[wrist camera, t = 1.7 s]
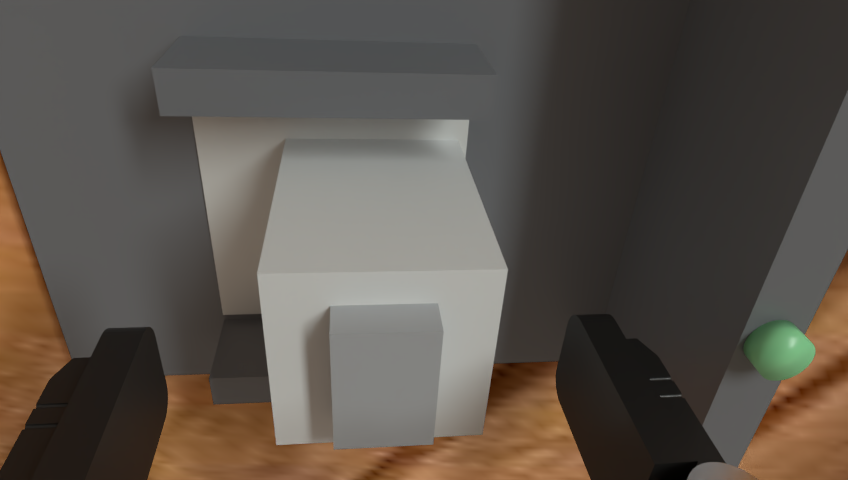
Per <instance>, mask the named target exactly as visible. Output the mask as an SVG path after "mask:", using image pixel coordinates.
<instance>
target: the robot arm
mask: <svg viewBox="0 0 848 480" xmlns="http://www.w3.org/2000/svg"><path fill="white" fill-rule="evenodd" d="M556 389H557V395H558V398H559V402H560V404H561V407H562V409H563V412H564V414H565V417H566V419H567V422H568V424H569V427H570V429H571V432H572V434H573V436H574V439H575V441H576V444H577V446H578V449H579V451H580V454H581V456H582V459H583V461H584V464H585V466H586V469H587V471H588V474H589V476H590V479H591V480H758V479H757V478H755V477H754V476H753V475H751V474H749V473H748V472H746V471H744V470H742V469H740V468H738V467H735V466H733V465H730V464H726V462H725V461H724V459H723V458H722V456H721V455H720V453H719V451H718V450H717V448H716V447H715V445H714V444H713V442H712V440H711V439H710V437H709V436H708V434H707V432H706V431H705V429H704V428H703V426H702V425H701V423H700V421H699V420H698V418H697V417H696V415H695V414H694V412H693V410H692V409H691V407H690V406H689V404H688V403H687V401H686V399H685V398H682V393H681V391H680V390H679V388H678V387H677V385H676V384H675V382H674V381H672V380H671V376H670V374H669V373H668V371H667V369H666V368H665V366H664V365H663V363H662V361H661V360H660V358H659V357H658V356H657V355H656V354H655V353H654V352H653V351H651V350H650V349H649V348H648V347H647V346H645V345H644V344H643V343H642V342H641V341H639V340H638V339H637V338H633V339H626V338H625V336H624V334H623V332H622V331H621V329H620V327H619V326H618V324H617V322H616V321H615V319H614V318H613V316H612V315H610V314H586V315H572V316H571V317H570V319H569V321H568V324H567V328H566V332H565V337H564V341H563V345H562V349H561V353H560V357H559V362H558V366H557V370H556ZM167 405H168V391H167V384H166V380H165V375H164V371H163V367H162V362H161V358H160V354H159V349H158V345H157V341H156V336H155V333H154V330H153V329H152V328H151V327H128V328H107V329H105V330H104V332H103V333H102V335H101V337H100V339H99V341H98V343H97V345H96V347H95V349H94V351H93V353H92V355H91V357H83V358H73V359H72V360H71V361H70V362H68V363H67V364H66V365H65V366H64V367H63V368H62V369H61V370H60V371H58V372H57V373H56V374H55V375H54V376H53V377H52V378H51V379H50V380H49V382H48V383H47V385H46V387H45V389H44V391H43V393H42V394H41V396H40V398H39V400H38V402H37V404H36V409H33V411H32V413H31V415H30V417H29V418H28V420H27V422H26V424H25V430H22V431H21V433H20V435H19V437H18V439H17V441H16V442H15V444H14V446H13V448H12V450H11V452H10V453H9V455H8V457H7V459H6V461H5V463H4V464H3V466H2V468H1V470H0V480H147V478H148V475H149V472H150V468H151V465H152V462H153V458H154V455H155V452H156V448H157V445H158V442H159V438H160V435H161V432H162V429H163V425H164V422H165V418H166V413H167Z"/></svg>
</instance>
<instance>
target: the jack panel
mask: <svg viewBox="0 0 848 480" xmlns="http://www.w3.org/2000/svg"><path fill="white" fill-rule="evenodd" d="M286 139H407V140H458V141H459V144H460V146H461V149H462V151H463V154H464V157H465V159H466V162H467V164H468V167H469V170H470V172H471V175H472V177H473V180H474V183H475V185H476V188H477V190H478V193H479V195H480V198H481V201H482V203H483V206H484V208H485V211H486V214H487V216H488V219H489V221H490V224H491V227H492V229H493V232H494V234H495V237H496V240H497V242H498V245H499V247H500V250H501V253H502V255H503V258H504V260H505V263H506V265H507V268H508V272H507V279H506V285H505V292H504V298H503V305H502V311H501V318H500V324H499V331H498V337H497V344H496V350H495V357H494V363H493V364H495V363H522V362H550V361H559V357H560V353H561V349H562V345H563V341H564V337H565V332H566V328H567V324H568V321H569V319H570V317H571V316H572V315H586V314H610V315H612V316H613V318H614V319H615V321H616V322H617V324H618V326H619V327H620V329H621V331H622V332H623V334H624V336H625V338H626V339H633V338H637V339H638V340H639V341H641V342H642V343H643V344H644V345H645V346H647V347H648V348H649V349H650V350H651V351H653V352H654V353H655V354H656V355H657V356H658V357H659V358H660V360H661V361H662V363H663V365H664V366H665V368H666V369H667V371H668V373H669V374H670V376H671V380H672V381H674V382H675V384H676V385H677V387H678V388H679V390H680V391H681V393H682V398H685V399H686V401H687V403H688V404H689V406H690V407H691V409H692V410H693V412H694V414H695V415H696V417H697V418H698V420H699V421H700V423H701V425H702V426H703V428H704V429H705V431H706V432H707V434H708V436H709V437H710V439H711V440H712V442H713V444H714V445H715V447H716V448H717V450H718V451H719V453H720V455H721V456H722V458H723V459H724V461H725V462H726V464H730V465H733V466H735V467H738V465H739V463H740V461H741V459H742V457H743V455H744V453H745V451H746V449H747V447H748V445H749V444H750V442H751V440H752V438H753V436H754V434H755V432H756V430H757V428H758V426H759V424H760V422H761V420H762V418H763V416H764V414H765V412H766V410H767V408H768V406H769V404H770V402H771V400H772V398H773V396H774V394H775V392H776V390H777V388H778V386H779V384H780V382H781V380H785V379H788V378H791V377H793V376H795V375H797V374H799V373H800V372H802V371H803V370H804V369H805V368H807V367H808V365H809V364H810V363H811V362H812V360H813V358H814V356H815V347H814V345H813V344H812V343H811V341H810V340H809V339H808V338H807V337H806V336H805V333H806V331H807V329H808V327H809V325H810V323H811V321H812V319H813V317H814V315H815V313H816V311H817V309H818V307H819V305H820V303H821V301H822V299H823V297H824V295H825V293H826V291H827V289H828V287H829V285H830V283H831V281H832V279H833V277H834V275H835V273H836V271H837V269H838V267H839V265H840V263H841V262H842V260H843V258H844V256H845V254H846V252H847V250H848V0H0V151H1V154H2V157H3V160H4V163H5V166H6V169H7V172H8V174H9V177H10V180H11V183H12V186H13V189H14V192H15V195H16V198H17V201H18V204H19V207H20V209H21V212H22V215H23V218H24V221H25V224H26V227H27V230H28V233H29V236H30V239H31V242H32V244H33V247H34V250H35V253H36V256H37V259H38V262H39V265H40V268H41V271H42V274H43V277H44V279H45V282H46V285H47V288H48V291H49V294H50V297H51V300H52V303H53V306H54V309H55V312H56V314H57V317H58V320H59V323H60V326H61V329H62V332H63V335H64V338H65V341H66V344H67V347H68V349H69V352H70V355H71V358H72V359H73V358H83V357H91V355H92V353H93V351H94V349H95V347H96V345H97V343H98V341H99V339H100V337H101V335H102V333H103V332H104V330H105V329H107V328H128V327H151V328H152V329H153V330H154V333H155V336H156V341H157V345H158V349H159V354H160V358H161V362H162V367H163V371H164V375H192V374H210V376H209V382H210V387H211V393H212V398H213V403H214V404H235V403H259V402H271V393H270V384H269V375H268V367H267V358H266V349H265V340H264V331H263V323H262V314H261V305H260V296H259V287H258V278H257V271H258V267H259V262H260V257H261V253H262V248H263V243H264V239H265V234H266V229H267V224H268V220H269V215H270V210H271V206H272V201H273V196H274V192H275V187H276V182H277V178H278V173H279V168H280V163H281V159H282V154H283V149H284V145H285V140H286Z"/></svg>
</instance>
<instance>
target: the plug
mask: <svg viewBox="0 0 848 480" xmlns="http://www.w3.org/2000/svg"><path fill="white" fill-rule="evenodd" d="M507 272H508V268H507V265H506V263H505V260H504V258H503V255H502V253H501V250H500V247H499V245H498V242H497V240H496V237H495V234H494V232H493V229H492V227H491V224H490V221H489V219H488V216H487V214H486V211H485V208H484V206H483V203H482V201H481V198H480V195H479V193H478V190H477V188H476V185H475V183H474V180H473V177H472V175H471V172H470V170H469V167H468V164H467V162H466V159H465V157H464V154H463V151H462V149H461V146H460V144H459V141H458V140H407V139H286V140H285V145H284V149H283V154H282V159H281V163H280V168H279V173H278V178H277V182H276V187H275V192H274V196H273V201H272V206H271V210H270V215H269V220H268V224H267V229H266V234H265V239H264V243H263V248H262V253H261V257H260V262H259V267H258V271H257V278H258V287H259V296H260V305H261V314H262V323H263V331H264V340H265V349H266V358H267V367H268V375H269V384H270V393H271V402H272V411H273V420H274V428H275V437H276V445H287V444H307V443H327V442H333V443H334V449H353V448H373V447H392V446H411V445H431V444H433V441H434V437H446V436H466V435H482V434H483V428H484V421H485V415H486V408H487V402H488V395H489V389H490V383H491V376H492V370H493V363H494V357H495V350H496V344H497V337H498V331H499V324H500V318H501V311H502V305H503V298H504V292H505V285H506V279H507Z"/></svg>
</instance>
